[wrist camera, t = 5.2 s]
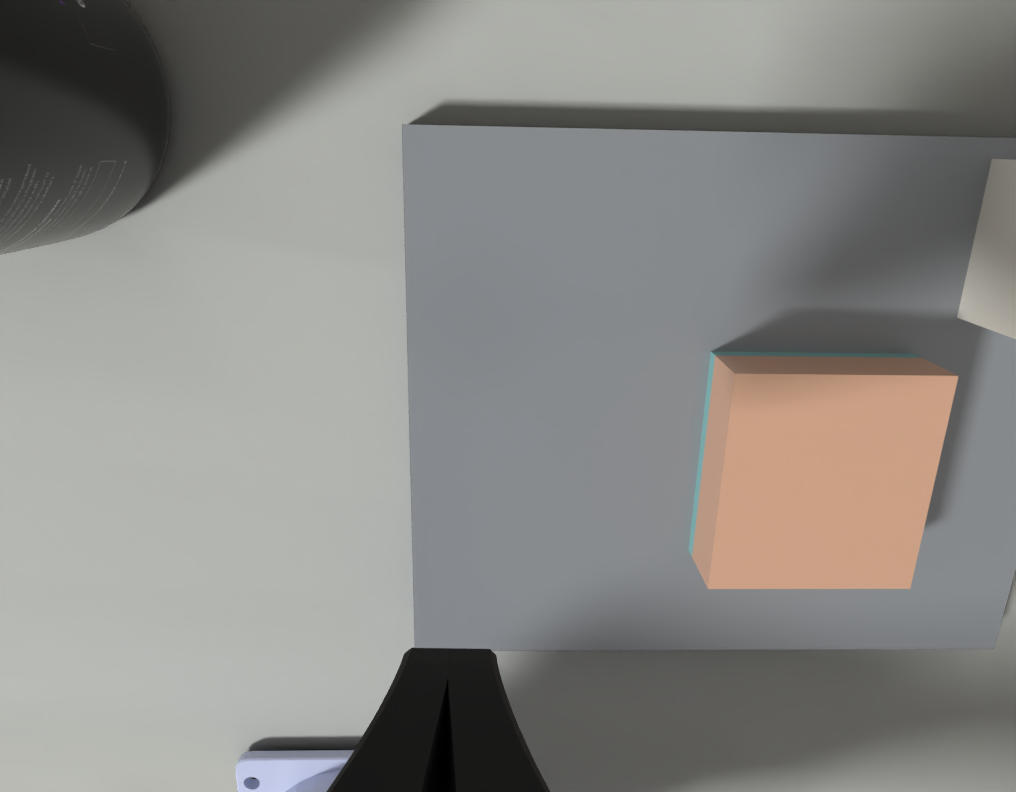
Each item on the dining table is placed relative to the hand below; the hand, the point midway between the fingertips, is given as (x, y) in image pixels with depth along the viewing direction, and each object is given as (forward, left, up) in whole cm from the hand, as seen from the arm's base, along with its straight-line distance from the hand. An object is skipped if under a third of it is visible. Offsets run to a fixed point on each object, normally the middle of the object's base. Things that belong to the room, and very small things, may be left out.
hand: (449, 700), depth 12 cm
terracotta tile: (0, -6, -8) cm, 11 cm away
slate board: (+1, -7, -10) cm, 13 cm away
